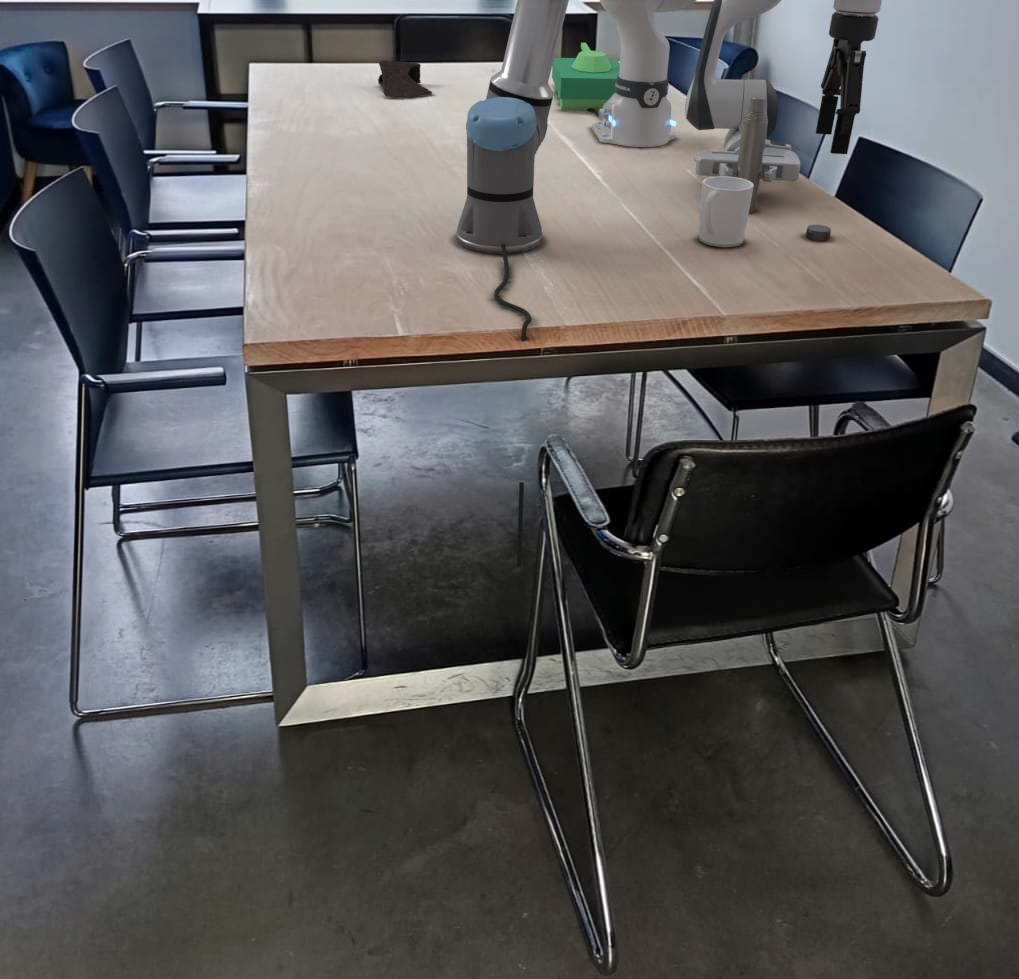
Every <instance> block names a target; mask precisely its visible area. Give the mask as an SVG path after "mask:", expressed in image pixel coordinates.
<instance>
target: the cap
mask: <svg viewBox="0 0 1019 979" xmlns="http://www.w3.org/2000/svg"><path fill="white" fill-rule="evenodd" d="M831 233H832V228H831V227H830V226H827V225H824V224H809V225H807V228H806V232H805V237H806V238H807V239H808V240H810V241H814V242H826V241H829V240H830V238H831Z"/></svg>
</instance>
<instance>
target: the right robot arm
mask: <svg viewBox="0 0 1019 979" xmlns="http://www.w3.org/2000/svg"><path fill="white" fill-rule="evenodd" d="M696 1H697V0H599V2H600V5H601V6H602V8H603V9H604V10H605V11H606V12H607V13H608V14H609V15H610V16H611V18H612V20H613V21H614V23H615V26H616V29H617V33H618V37H619V63H620V69H619V76H618V77H617V80H616V83H615V89H614V91H615V93H614V94H613V95H612V97H611V98H610V99H609V100H608V101H607V102H606V103H605V104H604V105H603V109H599V110H595V109H592V108H590V109H587V110H585V112H586V111H587V112H590V113H592V114H594V115H596V116H597V117H598V119H599V120H601V121H600V122H594V123H592V124H591V130H592V131H593V133H594V134H595V136H596V137H597V139H598V140H599V142H600V143H603V144H613V145H619V146H624V147H634V148H651V147H652V148H653V147H659V146H663V145H666V144H668V143H669V142H670V141H673V140H675V139H676V134H675V133H674V132H672V126H673V127H676V126H677V121H675V120H673V119H672V103H671V101H670V100H669V99H668V98H667V96H668V94H669V93H668V92H669V85H670V84H669V78H668V71H669V61H670V49H671V48H670V43H669V40H668V39H667V37H666V36H665V35H664V34H663V33H661V32H659V31H658V30H657V26H656V22H655V14H657V13H666V12H667V13H669V12H675V11H679V10H682V9H684V8H687V7H690V6H692V5H694V4H695V3H696ZM781 2H782V0H713V2H712V5H711V8H710V11H709V16H708V19H707V23H706V25H705V28H704V33H703V37H702V40H701V41H702V42H701V46H700V50H699V54H698V58H697V62H696V65H695V66H696V67H695V72H694V75H693V79H692V82H691V84H690V86H689V89H688V92H687V94H686V98H685V101H684V114H685V120H687V122H689V124H690V125H691V126H693V128H695V129H696V130H698V131H709V130H715V129H717V130H718V129H720V130H721V129H722V130H723V129H724V130H728V131H727V133H726V135H725V138H724V141H723V146H722V150H720V149H702V150H700V151H699V152H698V154H695V155H694V162H695V171H694V172H695V175H698V176H701V177H715V176H729V177H736V172H737V164H738V156H739V148H740V140H741V133H742V125H743V119H744V116H745V114H746V112H747V111H748V110H749V105H750V97H751V96H764V97H766V98H767V102H766V107H765V111H766V114H767V118H768V125H767V132H766V139H765V146H764V153H763V161H762V168H761V175H760V180H762V181H763V182H764V183H765V182H767V183H772V181H783V182H796V181H798V180H799V178H800V171H801V160H800V157H799V156H798V155H797V153H796V152H794V151H792V145H791V144H788V143H784V142H779V141H773V140H770V139H769V138H770V137H771V135H772V134H773V133H774V132H775V130H776V126H777V120H778V112H779V111H778V110H779V108H778V107H779V106H778V95H777V91H776V89H775V88H774V86H773V85H772V83H771V82H769V80H767V79H750V78H749V79H748V78H747V79H746V78H744V79H726V78H725V79H724V78H717V77H716V76H715V74H716V70H717V65H718V62H719V58H720V54H721V50H722V46H723V41H724V38H725V36H726V35H727V33H728V32H729V31H730V30H731V29H733V27H735V26H737V25H738V24H740V23H742V22H745V21H748V20H750V19H753V18H756V17H758V16H761V15H763V14H765V13H767V12H769V11H770V10H773V9H774V8H775V7H777V6H778V5H779V4H780V3H781Z"/></svg>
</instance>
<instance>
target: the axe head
mask: <svg viewBox="0 0 1019 979" xmlns="http://www.w3.org/2000/svg"><path fill="white" fill-rule="evenodd" d="M378 66H379V68H380V72H381V74H379V75H378V79H377V84H378V85H379V86H380V87H381V88H382V89H383V95H384V96H385V97H388V98H394V99H395V98H396V99H403V98H405V99H406V98H407V99H411V98H418V97H425V96H429V95H432V94H433V91H431V90H430V89H428V88H427V87H425V86H422V85H421V84H422V82H421V63H419V62H410V61H408V62H407V61H397V60H388V59H387V60H380V61H379V62H378Z"/></svg>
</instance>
